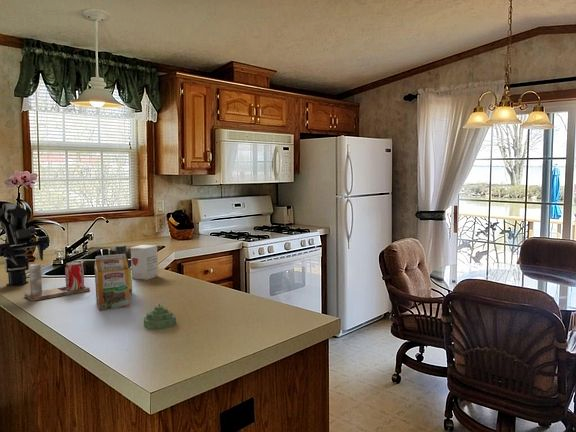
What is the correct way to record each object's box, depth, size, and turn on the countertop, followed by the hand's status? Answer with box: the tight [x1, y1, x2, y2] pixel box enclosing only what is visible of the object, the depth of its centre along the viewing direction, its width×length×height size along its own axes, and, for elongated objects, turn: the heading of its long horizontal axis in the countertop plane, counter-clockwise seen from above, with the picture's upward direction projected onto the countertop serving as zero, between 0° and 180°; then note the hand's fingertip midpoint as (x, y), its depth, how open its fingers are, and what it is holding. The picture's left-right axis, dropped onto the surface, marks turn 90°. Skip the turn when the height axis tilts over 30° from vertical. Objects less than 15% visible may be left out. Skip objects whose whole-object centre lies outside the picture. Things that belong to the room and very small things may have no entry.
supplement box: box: [130, 244, 159, 281], centre depth 225 cm, size 9×9×15 cm
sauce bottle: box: [115, 244, 133, 294], centre depth 195 cm, size 7×6×20 cm
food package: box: [94, 253, 131, 312], centre depth 177 cm, size 10×11×19 cm
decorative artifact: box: [143, 303, 177, 331], centre depth 153 cm, size 10×7×10 cm
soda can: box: [64, 261, 85, 291], centre depth 200 cm, size 7×7×12 cm
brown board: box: [23, 263, 91, 302], centre depth 196 cm, size 22×10×13 cm, turn 135°
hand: (30, 262), depth 196 cm, fingers open, 9 cm apart
